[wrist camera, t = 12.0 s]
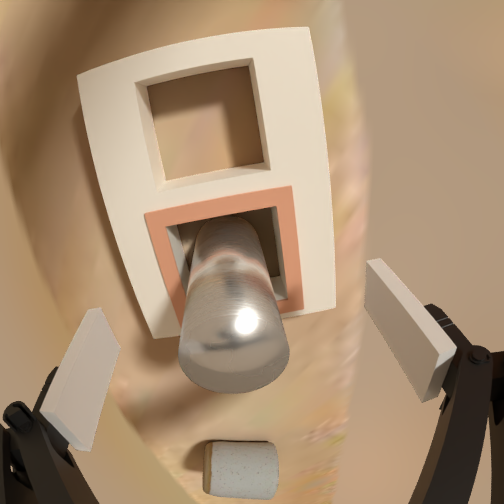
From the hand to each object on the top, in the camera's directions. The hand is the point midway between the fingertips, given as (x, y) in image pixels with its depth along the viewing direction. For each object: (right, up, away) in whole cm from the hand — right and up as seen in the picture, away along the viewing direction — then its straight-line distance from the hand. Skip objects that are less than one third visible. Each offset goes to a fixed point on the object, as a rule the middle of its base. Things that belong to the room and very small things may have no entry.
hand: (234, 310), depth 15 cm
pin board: (-1, +7, +5) cm, 9 cm away
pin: (-1, +3, +7) cm, 8 cm away
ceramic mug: (-1, -22, +19) cm, 30 cm away
